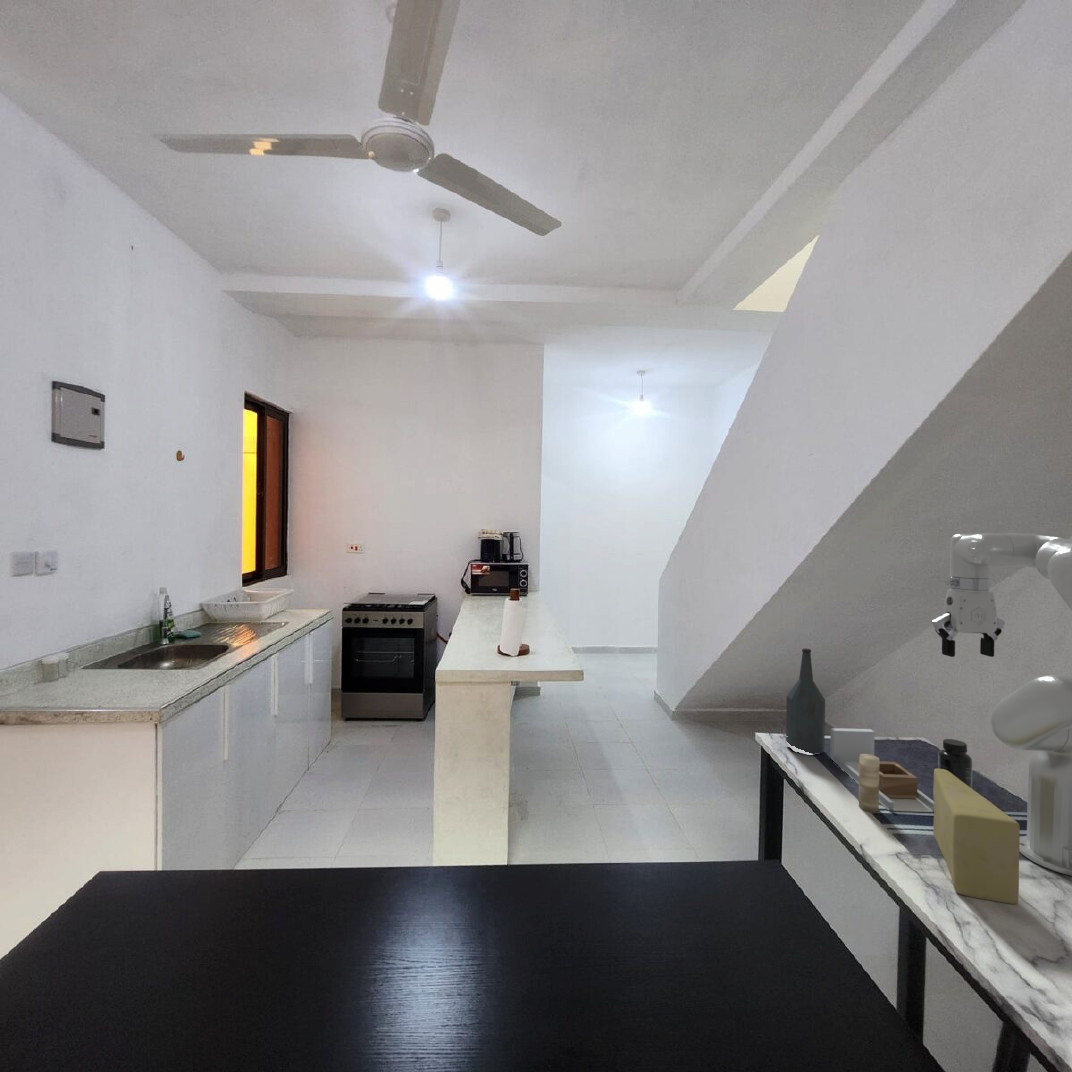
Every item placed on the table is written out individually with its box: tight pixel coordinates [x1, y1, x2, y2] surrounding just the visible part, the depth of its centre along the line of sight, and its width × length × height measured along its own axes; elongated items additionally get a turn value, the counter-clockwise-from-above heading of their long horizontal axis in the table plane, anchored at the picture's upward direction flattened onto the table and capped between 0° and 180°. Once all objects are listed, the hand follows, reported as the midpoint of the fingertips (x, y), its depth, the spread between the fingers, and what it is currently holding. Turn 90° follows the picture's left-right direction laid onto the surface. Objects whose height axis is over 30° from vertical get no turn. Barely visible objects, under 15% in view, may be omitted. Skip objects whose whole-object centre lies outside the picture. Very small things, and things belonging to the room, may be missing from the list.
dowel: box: [858, 754, 880, 813], centre depth 127 cm, size 4×4×12 cm
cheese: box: [932, 768, 1021, 905], centre depth 106 cm, size 22×10×15 cm, turn 162°
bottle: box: [785, 648, 826, 754], centre depth 161 cm, size 10×10×30 cm
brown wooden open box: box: [879, 760, 918, 799], centre depth 135 cm, size 9×8×5 cm
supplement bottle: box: [937, 738, 973, 789], centre depth 137 cm, size 7×7×12 cm
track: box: [829, 727, 934, 813], centre depth 140 cm, size 28×11×9 cm, turn 177°
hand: (967, 655), depth 131 cm, fingers open, 9 cm apart
